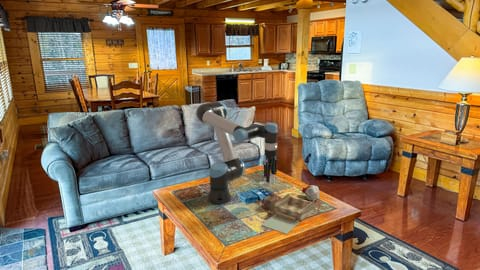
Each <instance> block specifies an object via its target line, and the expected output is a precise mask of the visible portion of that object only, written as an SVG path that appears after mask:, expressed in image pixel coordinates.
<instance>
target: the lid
mask: <svg viewBox="0 0 480 270" xmlns="http://www.w3.org/2000/svg"><path fill="white" fill-rule="evenodd" d="M300 223H301V221H297V220H296V218H295V217H292V216H289V215H286V214H283V213H280V212H276V213H274V214H273V215H272V216H271V217H269V218H268V219H266V220H265V221H264V222H263V223H262V224H261V226H263V227H265V228H268V229H271V230H274V231H277V232H278V233H279V232H280V233H281V234H285V235H288V233H290V232H291V231H292V230H293V229H294V228H296V226H297V225H298V224H300Z"/></svg>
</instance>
